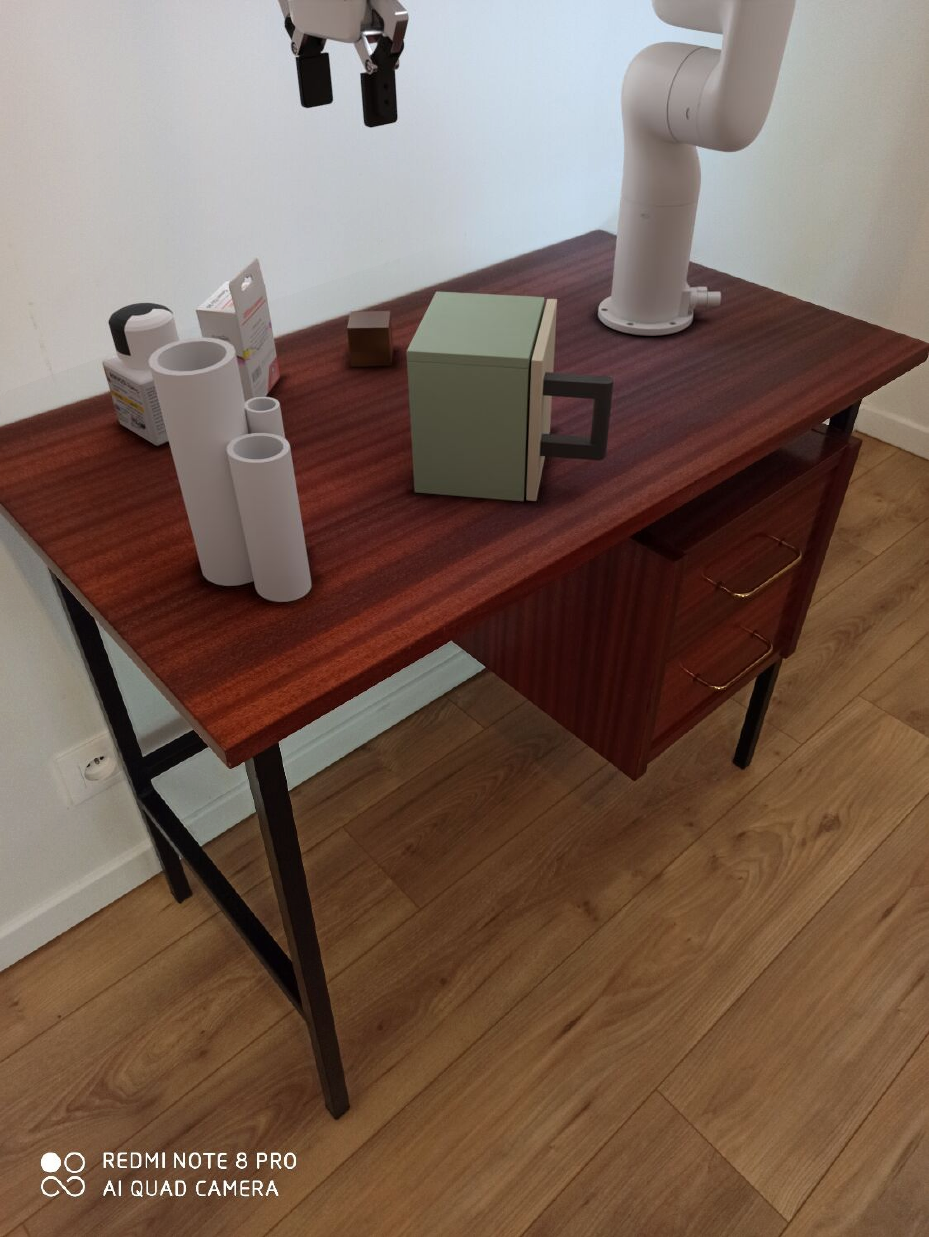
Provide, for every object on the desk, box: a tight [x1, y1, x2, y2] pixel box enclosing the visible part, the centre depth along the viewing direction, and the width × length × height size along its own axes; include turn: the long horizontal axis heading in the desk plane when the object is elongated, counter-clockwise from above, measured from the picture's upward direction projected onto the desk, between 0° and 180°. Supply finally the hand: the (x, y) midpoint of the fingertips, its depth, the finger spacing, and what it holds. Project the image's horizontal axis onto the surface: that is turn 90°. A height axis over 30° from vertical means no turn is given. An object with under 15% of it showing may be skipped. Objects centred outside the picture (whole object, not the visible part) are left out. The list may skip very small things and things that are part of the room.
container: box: [101, 302, 180, 446], centre depth 98 cm, size 8×8×13 cm
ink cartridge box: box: [195, 257, 281, 402], centre depth 103 cm, size 9×5×15 cm, turn 168°
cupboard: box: [406, 291, 546, 502], centre depth 91 cm, size 11×14×15 cm
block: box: [346, 310, 394, 368], centre depth 113 cm, size 5×5×5 cm
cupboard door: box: [525, 298, 614, 502], centre depth 90 cm, size 7×14×15 cm, turn 170°
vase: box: [148, 337, 312, 603], centre depth 76 cm, size 11×7×20 cm, turn 67°
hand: (348, 114), depth 81 cm, fingers open, 9 cm apart
